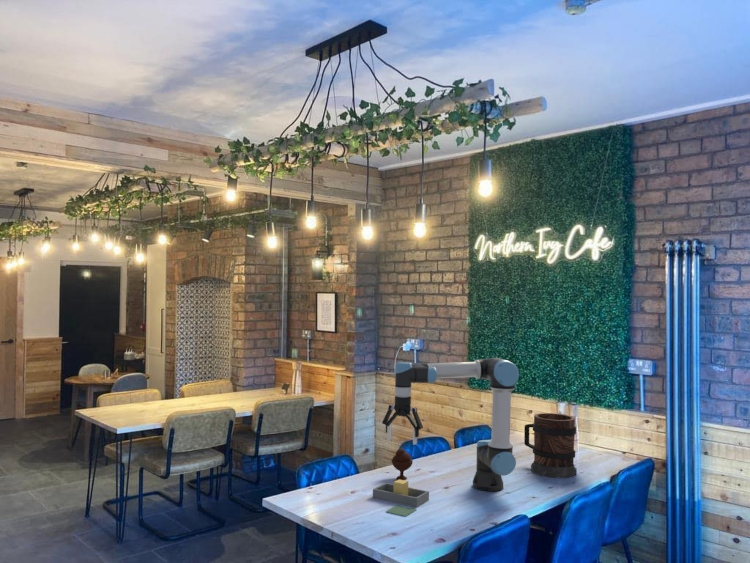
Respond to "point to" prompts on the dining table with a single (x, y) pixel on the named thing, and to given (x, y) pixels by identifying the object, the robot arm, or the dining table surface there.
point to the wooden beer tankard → (552, 445)
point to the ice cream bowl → (402, 462)
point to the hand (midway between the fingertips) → (401, 441)
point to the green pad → (401, 510)
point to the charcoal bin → (413, 498)
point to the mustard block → (401, 487)
